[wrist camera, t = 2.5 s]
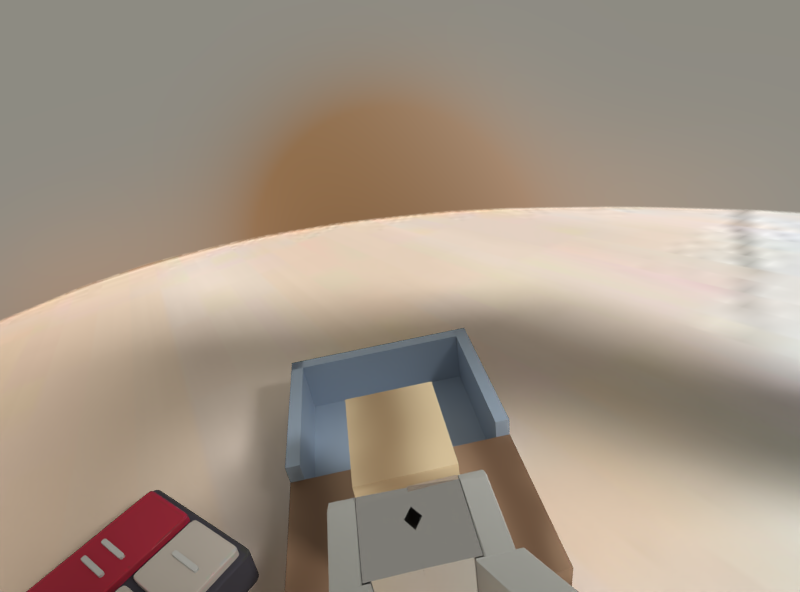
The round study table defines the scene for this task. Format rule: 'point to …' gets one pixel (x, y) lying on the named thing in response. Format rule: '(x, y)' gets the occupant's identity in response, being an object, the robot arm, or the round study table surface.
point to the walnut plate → (490, 455)
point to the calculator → (155, 555)
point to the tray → (377, 372)
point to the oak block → (398, 440)
